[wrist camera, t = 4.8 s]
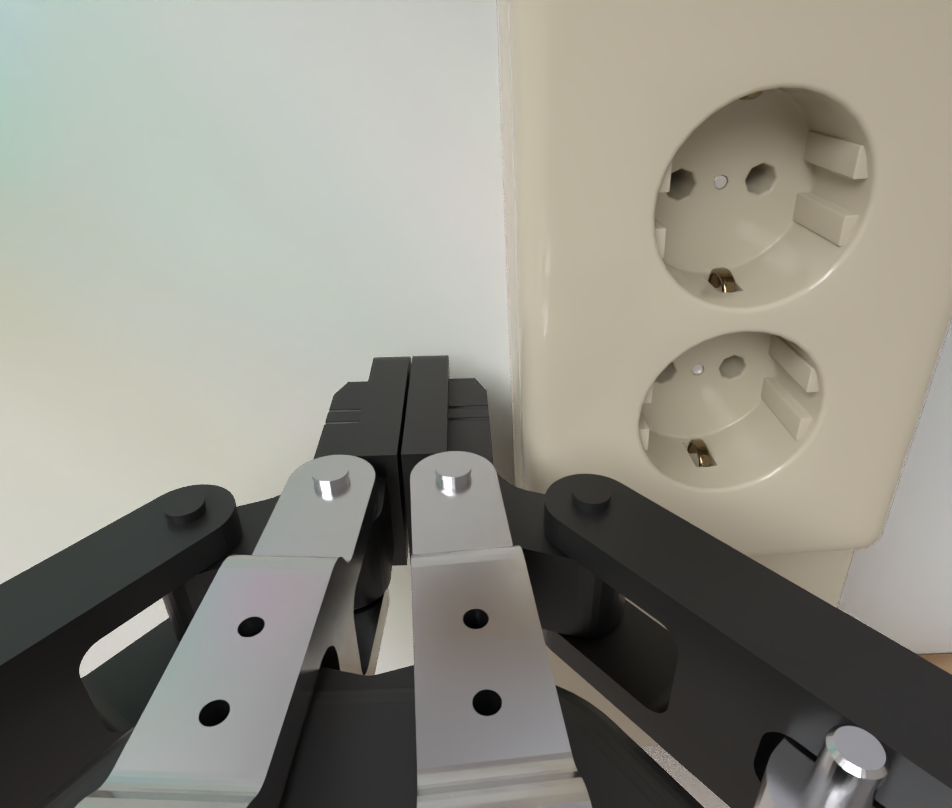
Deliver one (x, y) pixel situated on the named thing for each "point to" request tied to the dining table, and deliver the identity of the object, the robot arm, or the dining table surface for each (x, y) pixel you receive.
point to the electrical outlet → (727, 261)
